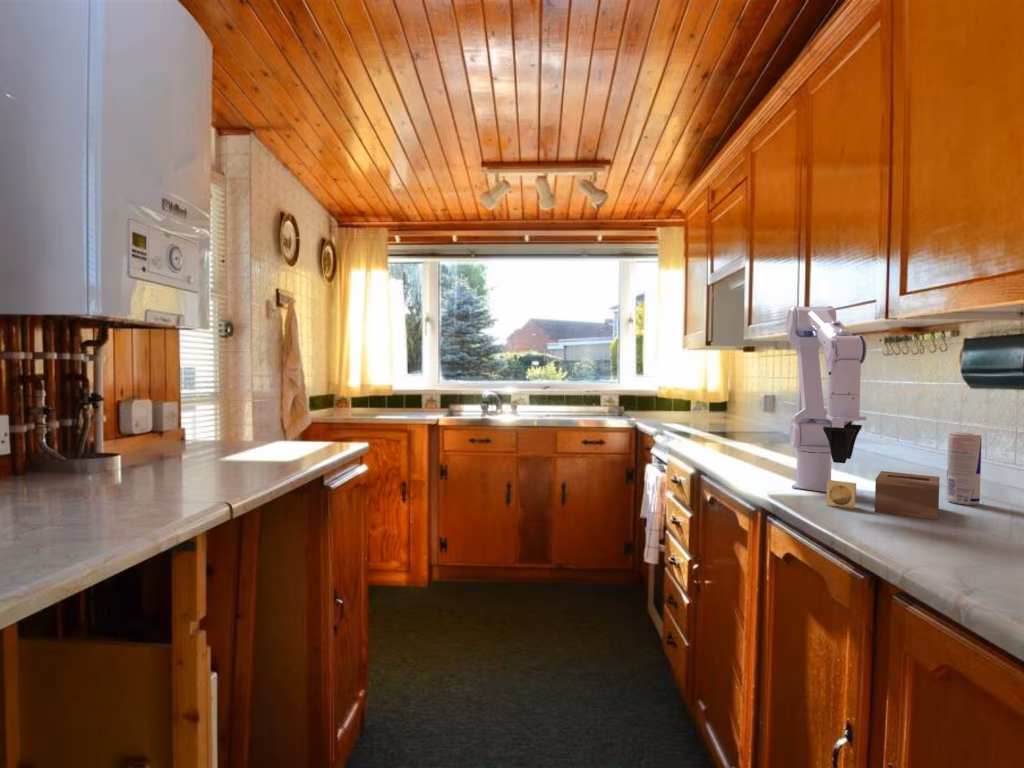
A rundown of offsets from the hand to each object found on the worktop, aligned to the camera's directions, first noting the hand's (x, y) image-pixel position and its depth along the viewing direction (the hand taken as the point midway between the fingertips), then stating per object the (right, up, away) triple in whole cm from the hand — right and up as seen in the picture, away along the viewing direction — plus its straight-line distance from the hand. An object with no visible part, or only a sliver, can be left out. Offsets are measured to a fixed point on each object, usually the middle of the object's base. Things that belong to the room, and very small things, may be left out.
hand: (842, 460), depth 117 cm
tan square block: (0, -10, 0) cm, 10 cm away
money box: (+12, -10, -3) cm, 15 cm away
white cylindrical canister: (+29, -10, +5) cm, 31 cm away
